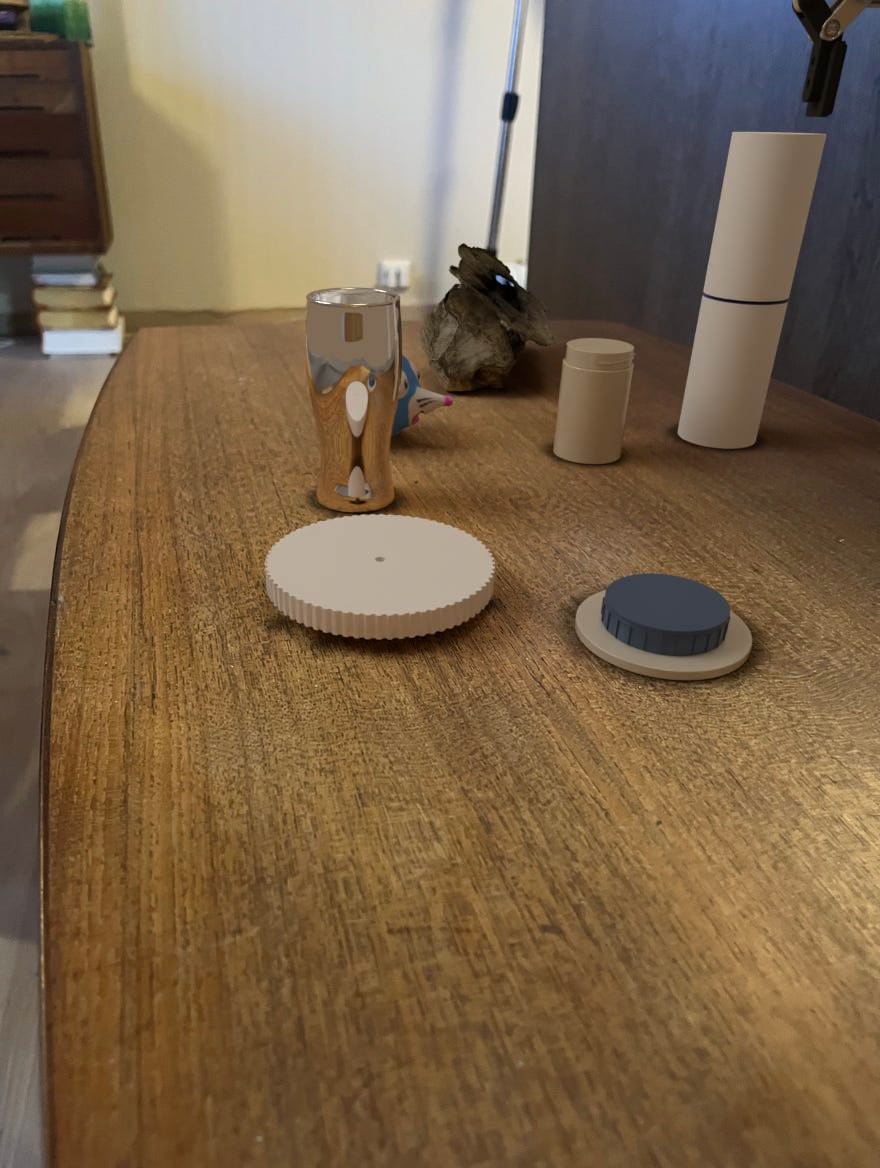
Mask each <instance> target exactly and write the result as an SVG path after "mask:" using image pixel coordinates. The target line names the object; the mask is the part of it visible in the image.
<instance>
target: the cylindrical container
mask: <svg viewBox="0 0 880 1168" xmlns="http://www.w3.org/2000/svg"><path fill="white" fill-rule="evenodd" d="M826 139H827V133H810V132H778V131H776V132H775V131H774V132H773V131H732V132H731V138H730V143H729V148H728V155H727V160H726V165H725V171H724V176H723V181H722V186H721V192H720V197H719V202H718V203H719V204H718V208H717V214H716V220H715V225H714V231H713V236H712V240H711V247H710V252H709V259H708V263H707V268H706V274H705V280H704V284H703V285H704V286H703V291H702V292H703V293H702V296H701V302H700V306H699V312H698V318H697V323H696V330H695V333H694V339H693V345H692V349H691V350H692V351H691V356H690V362H689V367H688V372H687V378H686V383H685V389H684V394H683V400H682V406H681V410H680V411H681V412H680V416H679V422H678V426H677V435H678V437H679V438H681V439H682V440H684V441H687V442H688V443H691V444H694V445H698V446H701V447H707V448H713V449H726V450H727V449H728V450H729V449H731V450H733V449H735V450H736V449H743V448H744V449H745V448H749V447H751V446H753V445H755V443H757V437H758V433H759V429H760V424H761V419H762V415H763V412H764V407H765V403H766V398H767V394H768V389H769V386H770V382H771V376H772V372H773V368H774V364H775V360H776V355H777V351H778V347H779V342H780V338H781V334H782V328H783V325H784V321H785V316H786V312H787V307H788V303H789V298H790V295H791V290H792V286H793V281H794V277H795V272H796V269H797V265H798V264H797V263H798V259H799V255H800V252H801V247H802V243H803V239H804V234H805V229H806V225H807V221H808V216H809V212H810V208H811V203H812V200H813V196H814V191H815V187H816V182H817V178H818V174H819V169H820V165H821V160H822V157H823V153H824V149H825V143H826Z"/></svg>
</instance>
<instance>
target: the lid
mask: <svg viewBox="0 0 880 1168" xmlns="http://www.w3.org/2000/svg"><path fill="white" fill-rule="evenodd" d="M605 590H606V592H605V597H603V602H602V608H601V614H602V618H601V621H602V622H603V624H604V626H605V628H606V630H607V631H608V632H609V633H610V634H612V635H613V636H614V637H615V638H617V639H618V640H620V641H622V642H623V643H625V644H627V645H630V646H632V647H634V648H637V649H640V650H643V651H647V652H651V653H656V654H662V655H671V656H689V655H697V654H702V653H705V652H708V651H711V650H713V649H715V648H716V647H718V646H719V645H720V644H721V642H722V641H724V640H725V637H726V633H727V629H728V625H729V621H730V611H731V607H730V604H729V602H728V600H727V599H726V598H725V597H724V596H723V595H722V594H721V593H719V592H718V591H717V590H715V589H713V588H712V587H710V586H709V585H706V584H704V583H701V582H699V581H696V580H694V579H690V578H687V577H683V576H678V575H673V574H666V573H653V572H652V573H651V572H650V573H649V572H647V573H636V574H629V575H625V576H623V577H619V578H617V579H615V580H613V581H612V582H610V584H609V585H608V586H607V588H606V589H605Z"/></svg>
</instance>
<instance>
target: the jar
mask: <svg viewBox="0 0 880 1168" xmlns="http://www.w3.org/2000/svg"><path fill="white" fill-rule="evenodd" d="M635 357H636V352H635V346H634V345H632V343H629V342H626V341H622V340H619V339H611V338H602V337H583V338H576V339H571V340H569V341H568V342H566V347H565V356H564V358H563V359H562V363H561V372H560V381H559V390H558V399H557V408H556V409H557V410H556V417H555V426H554V435H553V436H554V437H553V443H552V444H553V445H552V451H553V454H554V455H555V456H557V457H558V458H560V459H562V460H565V461H568V462H572V463H576V464H583V465H603V464H604V465H605V464H610V463H613V462H616V461H618V460H619V459H620V458H621V456H622V451H623V450H622V449H623V442H624V436H625V429H626V423H627V418H628V417H627V416H628V410H629V402H630V396H631V390H632V384H633V377H634V370H635V363H634V362H633V360H634V359H635Z"/></svg>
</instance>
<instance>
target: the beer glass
mask: <svg viewBox="0 0 880 1168" xmlns="http://www.w3.org/2000/svg"><path fill="white" fill-rule="evenodd" d="M305 298H306V311H305V312H306V313H305V334H304V337H305V338H304V341H305V342H304V345H305V347H304V349H305V350H304V351H305V352H304V353H305V368H306V379H307V385H308V393H309V397H310V403H311V406H312V413H313V417H314V421H315V426H316V432H317V436H318V443H319V451H320V452H319V453H320V464H319V465H320V468H319V475H318V481H317V488H316V500H317V501H318V503H319V504H320V505H322V506H323V507H325V508H327V509H330V510H333V511H337V512H341V513H342V512H343V513H353V514H354V513H369V512H374V511H379V510H382V509H384V508H386V507H389V506H390V505H391V504H392V503H393V502H394V500H395V487H394V482H393V481H394V480H393V476H392V469H391V456H390V455H391V441H392V437H391V436H392V430H393V425H394V419H395V414H396V409H397V403H398V398H399V391H400V384H401V376H402V355H403V327H402V326H403V325H402V315H401V313H402V312H401V295H400V294H398V293H397V292H395V291H391V290H387V289H381V288H374V287H373V288H372V287H353V286H352V287H351V286H349V287H347V286H346V287H329V288H321V289H316V290H313V291H310V292H308V293H307V294H306V297H305Z"/></svg>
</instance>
